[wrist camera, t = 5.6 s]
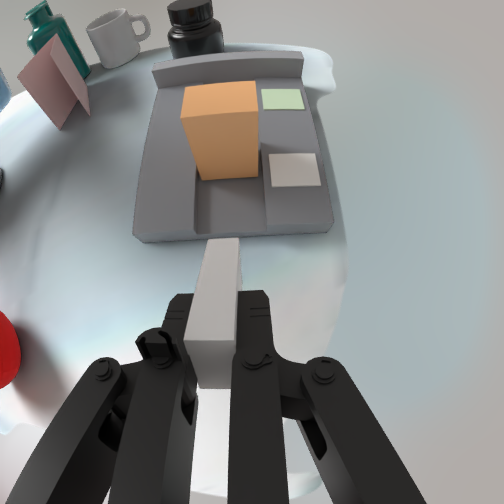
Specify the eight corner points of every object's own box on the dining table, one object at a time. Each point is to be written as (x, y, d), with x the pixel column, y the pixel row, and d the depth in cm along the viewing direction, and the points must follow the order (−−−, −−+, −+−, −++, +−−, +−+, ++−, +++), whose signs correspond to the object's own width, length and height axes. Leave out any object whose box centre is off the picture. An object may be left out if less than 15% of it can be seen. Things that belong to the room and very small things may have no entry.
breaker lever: (258, 176, 28) (258, 111, 19) (201, 180, 28) (180, 118, 19) (255, 147, 29) (255, 80, 20) (203, 151, 29) (185, 87, 20)
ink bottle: (232, 46, 38) (228, -8, 27) (217, 71, 36) (208, 10, 24) (184, 45, 39) (173, -4, 27) (164, 70, 37) (147, 16, 25)
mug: (98, 73, 38) (79, 35, 28) (108, 53, 41) (93, 18, 30) (153, 56, 38) (139, 12, 28) (159, 38, 41) (147, -1, 30)
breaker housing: (326, 232, 28) (344, 207, 22) (143, 243, 28) (116, 221, 22) (296, 84, 35) (301, 51, 28) (165, 94, 35) (154, 63, 29)
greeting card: (84, 87, 37) (53, 34, 23) (112, 80, 37) (84, 21, 23) (56, 131, 34) (13, 78, 20) (85, 126, 34) (42, 64, 20)
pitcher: (93, 73, 39) (54, -3, 17) (59, 97, 37) (13, 26, 16) (86, 60, 41) (53, -6, 20) (56, 81, 40) (18, 18, 18)
